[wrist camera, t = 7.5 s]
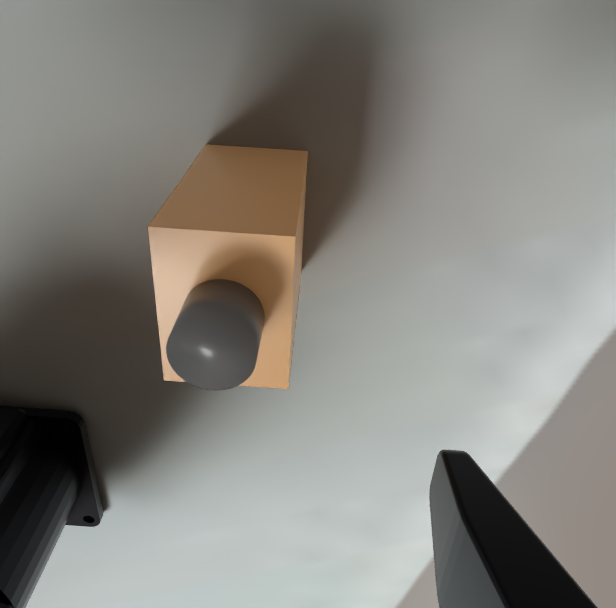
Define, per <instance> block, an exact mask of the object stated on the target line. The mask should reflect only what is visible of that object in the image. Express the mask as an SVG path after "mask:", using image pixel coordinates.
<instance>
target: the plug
mask: <svg viewBox="0 0 616 608" xmlns="http://www.w3.org/2000/svg"><path fill="white" fill-rule="evenodd" d="M307 157H308V151H300V150H285V149H270V148H254V147H239V146H224V145H208V144H206V145H205V147H204V148H203V149H202V151H201V152H200V154H199V155H198V156H197V158H196V159H195V161H194V162H193V164H192V165H191V166H190V168H189V169H188V171H187V172H186V174H185V175H184V176H183V178H182V179H181V181H180V182H179V183H178V185H177V186H176V188H175V189H174V191H173V192H172V193H171V195H170V196H169V198H168V199H167V200H166V202H165V203H164V205H163V206H162V208H161V209H160V210H159V212H158V213H157V215H156V216H155V218H154V219H153V220H152V222H151V223H150V225H149V226H148V232H149V242H150V251H151V261H152V271H153V280H154V290H155V299H156V309H157V319H158V328H159V338H160V348H161V357H162V367H163V376H164V380H165V381H179V382H188V383H190V384H192V385H194V386H196V387H199V388H203V389H207V390H226V389H230V388H234V387H236V386H252V387H267V388H281V389H289V380H290V371H291V362H292V352H293V343H294V334H295V325H296V316H297V307H298V298H299V288H300V279H301V269H302V250H303V232H304V213H305V194H306V176H307Z"/></svg>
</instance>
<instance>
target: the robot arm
mask: <svg viewBox="0 0 616 608" xmlns="http://www.w3.org/2000/svg"><path fill="white" fill-rule="evenodd" d="M68 423H70V424H71V425H70V424H68ZM430 511H431V524H432V537H433V550H434V563H435V576H436V586H437V596H438V602H439V607H440V608H597V607H596V605H595V604H594V603H593V602H592V601H591V599H590V598H589V597H588V596H587V595H586V594H585V592H584V591H583V590H582V589H581V587H580V586H579V585H578V584H577V583H576V582H575V580H574V579H573V578H572V577H571V576H570V575H569V573H568V572H567V571H566V570H565V568H564V567H563V566H562V565H561V564H560V562H559V561H558V560H557V559H556V558H555V556H554V555H553V554H552V553H551V552H550V550H549V549H548V548H547V547H546V546H545V545H544V543H543V542H542V541H541V540H540V539H539V537H538V536H537V535H536V534H535V533H534V531H533V530H532V529H531V528H530V527H529V526H528V524H527V523H526V522H525V521H524V520H523V519H522V517H521V516H520V515H519V513H518V512H517V511H516V510H515V509H514V508H513V506H512V505H511V504H510V503H509V502H508V500H507V499H506V498H505V497H504V496H503V494H502V493H501V492H500V491H499V490H498V488H497V487H496V486H495V485H494V484H493V482H492V481H491V480H490V479H489V478H488V476H487V475H486V474H485V473H484V472H483V471H482V469H481V468H480V467H479V466H478V465H477V463H476V462H475V461H474V460H473V459H472V457H471V456H470V455H469V454H468V453H466V452H464V451H456V450H441V451H440V452H439V454H438V456H437V460H436V464H435V468H434V472H433V476H432V480H431V484H430ZM102 517H103V509H102V504H101V499H100V494H99V490H98V485H97V480H96V475H95V470H94V466H93V461H92V456H91V451H90V446H89V442H88V437H87V432H86V427H85V422H84V420H83V418H82V417H81V416H80V415H79V414H77V413H76V412H72V411H63V410H49V409H34V408H20V407H6V406H0V608H25V607H26V605H27V603H28V601H29V599H30V597H31V595H32V593H33V591H34V589H35V586H36V584H37V582H38V580H39V578H40V576H41V574H42V572H43V570H44V568H45V566H46V564H47V561H48V559H49V557H50V555H51V553H52V551H53V549H54V547H55V545H56V543H57V541H58V539H59V537H60V534H61V532H62V530H63V528H64V526H65V525H75V526H89V527H93V526H97V525H98V524H99V523H100V521H101V519H102Z"/></svg>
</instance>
